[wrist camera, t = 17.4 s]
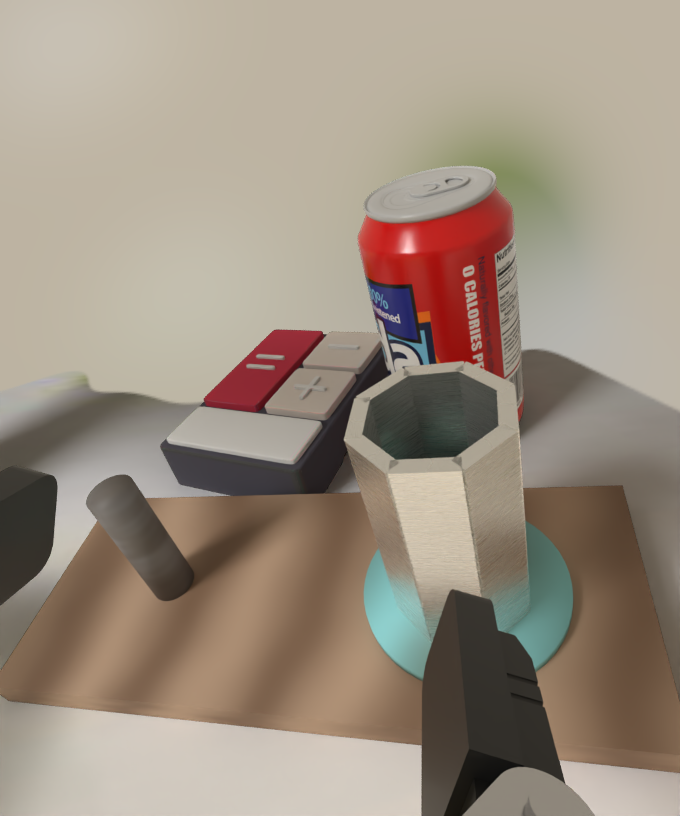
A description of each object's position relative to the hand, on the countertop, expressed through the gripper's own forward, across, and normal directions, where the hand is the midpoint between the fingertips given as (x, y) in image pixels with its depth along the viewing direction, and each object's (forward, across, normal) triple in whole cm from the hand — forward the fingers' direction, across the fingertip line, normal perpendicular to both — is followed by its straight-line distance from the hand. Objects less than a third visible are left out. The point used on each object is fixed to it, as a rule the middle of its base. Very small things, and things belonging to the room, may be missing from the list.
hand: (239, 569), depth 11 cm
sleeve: (+13, -7, +7) cm, 16 cm away
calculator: (+29, +4, +7) cm, 30 cm away
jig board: (+15, -1, +11) cm, 18 cm away
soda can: (+26, -7, +3) cm, 27 cm away
